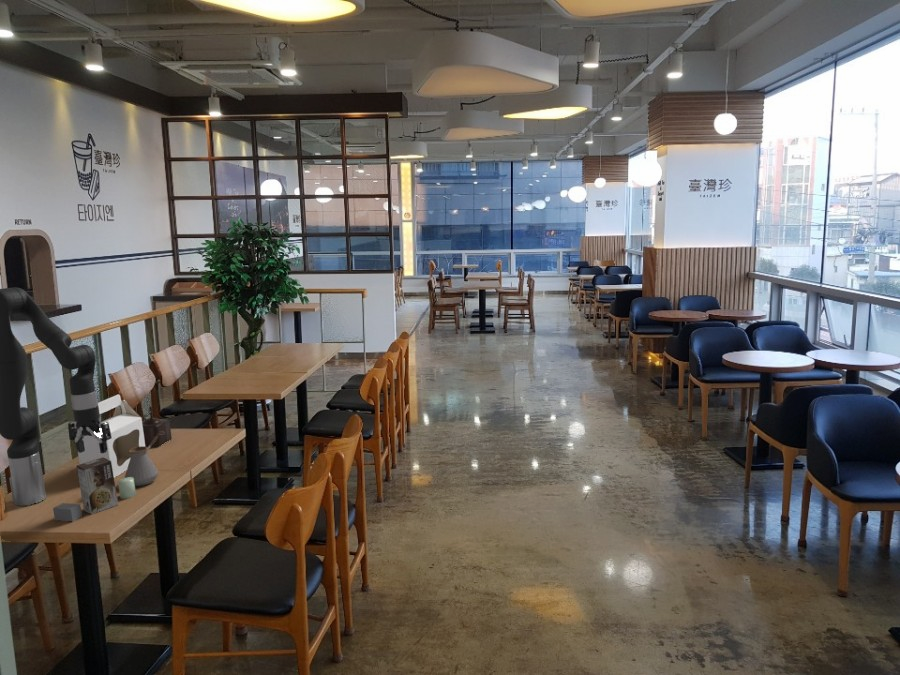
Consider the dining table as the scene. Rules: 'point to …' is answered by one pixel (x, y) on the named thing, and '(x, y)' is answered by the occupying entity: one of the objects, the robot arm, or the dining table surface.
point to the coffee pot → (142, 465)
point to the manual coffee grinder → (155, 430)
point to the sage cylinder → (126, 487)
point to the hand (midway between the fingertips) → (92, 452)
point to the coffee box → (97, 485)
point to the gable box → (116, 435)
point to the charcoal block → (67, 512)
